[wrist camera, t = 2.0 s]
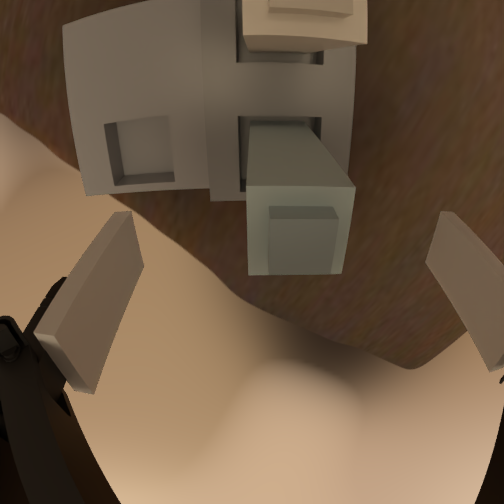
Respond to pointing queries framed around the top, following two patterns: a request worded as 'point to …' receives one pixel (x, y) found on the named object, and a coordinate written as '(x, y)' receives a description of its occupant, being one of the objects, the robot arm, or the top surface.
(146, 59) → the panel
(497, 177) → the top surface
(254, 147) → the plug
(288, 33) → the plug
